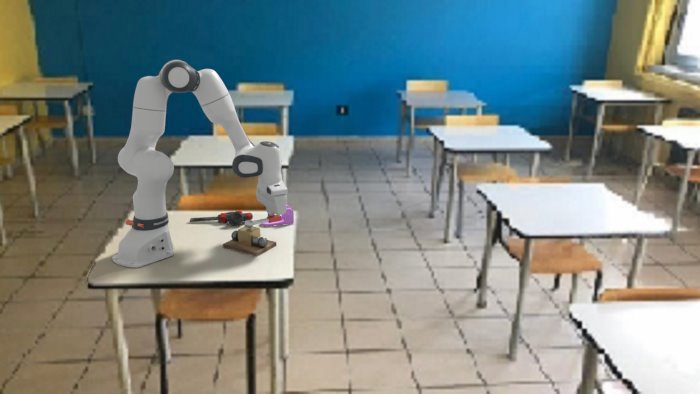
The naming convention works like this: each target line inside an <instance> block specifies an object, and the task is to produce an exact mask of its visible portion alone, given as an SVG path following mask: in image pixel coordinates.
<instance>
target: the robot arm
mask: <svg viewBox="0 0 700 394" xmlns="http://www.w3.org/2000/svg"><path fill="white" fill-rule="evenodd" d="M172 93H177V94H182V93H183V94H184V93H192V94H193V95H194V96H195V97H196V99H197V101H198V103H199V105H200V107H201V109H202V111H203V113H204V115H205V116H206V118H208V120H209V121H210V122H211V123H213V124H215V125H218V126H219V127H221V128H222V129H223V130H224V131H225V132H226V135H227V137H228V138H229V140H230V142H231V143H232V145H233V148H234V153H235V154H234V158H233V160H232V164H231V167H232V168H231V169H232V170H233V172H234V174H235V175H236V176H238V177H239V178H244V179H247V178H255V177H257V178H258V182H257V185H256V196H255V197H256V200H257V202H258V203H260V204H262V205H263V206H264V207H265V209H266V212H267V217H268V216H273V215H280V216H282V214H285V213H286V210H287V205H288V196H287V194H288V188H287V186H286V185H285V183H284V181H283V178H282V177H283V176H282V175H283V174H282V170H281V169H282V166H283V165H282V152H281V148H280V146H279V145H278V144H277V143H275V142H272V141H266V140H265V141H261V142H259V143H257V145H255V144H254V143H253V142H252V141H251V140H250V138H249V136H248V135H247V133H246V131H245V129H244V127H243V126H242V123H241V121H240V119H239V118H238V114H237V112H236V111H237V110H236V106H235V104H234V102H233V99H232V96H231V94H230V93H229V91H228V88H227V87H226V85H225V83H224V81H223V80H222V78H221V77H220V75H219V74H218V73H217V71H215V70H214V69H211V68H204V69H200V70H196V69H195V68H193V66H191V65H189V64H188V63H187V62H186V61H183V60H181V59H172V60H169V61H167V62H166V63H165V64H164V65H163V66H162V68H161V69H160V70H159V72H158V73H157V75H156V76H154V75H153V76H152V75H147V76H143V77H141V78H140V79H138V81H137V84H136V87H135V91H134V96H133V101H132V102H133V103H132V115H131V125H130V126H131V127H130V131H129V134H128V135H129V136H128V138H127V140H126V143H125V145H124V147H122V148H121V149H120V151H119V152H118V155H117V162H118V165H119V167H120V168H122V169H123V170H124V171H125V172H126V173H127V174H129V175H131V176H133V177H134V176H135V177H136V178H137V186H136V190H135V191H134V193H133V195H132V203H133V212H134V215H133V219H126V220H125V225H127V226H130V227H131V228H130V229H129V230H128V232H127V233H126V234H125V236H124V237H123V238H122V239H121V240H120V241H119V243H118V247H117V249H118V250H117V251H118V253H116V254H114V255H112V257H111V260H112V262H113V263H114V264H117V265H119V266H122V267H127V268H137V269H138V268H141V267H144V266H147V265H150V264H152V263H155V262H159V261H161V260H163V259H167V258H171V257H172V256H174V255H175V252H174V251H175V245H174V243H173V240H172V238H171V233H170V230H169V215H168V211H167V203H166V189H167V183H168V181H169V180H170V179H171V177H172V176H173V174H174V171H175V167H174V162H173V160H172V159H171V158H170V157H168V155H166V154H165V153H163V152H162V151H158V150H156V146H157V143H158V141H159V139H160V137H161V136H163V134H164V133H165V127H166V118H167V117H166V115H167V104H168V99H169V96H170V95H171V94H172Z"/></svg>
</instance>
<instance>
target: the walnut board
mask: <svg viewBox="0 0 700 394" xmlns="http://www.w3.org/2000/svg"><path fill="white" fill-rule="evenodd" d="M267 240H268V244H267V246H266V247H264V248H262V247H259V246H258V245H254V246H252V247H250V246H246V245H242V244H239V242H238V241H235V240H233V239H232V238H231V239H230V240H228V241H226V242H224V243H222V249H225V250H229V251H234V252H237V253H240V254H244V255H247V256H252V257H255V258H257V257H259V256H261V255H263V254H265V253H267V252H268V251H270V250H271V249H273V248H275V247H277V241H274V240H269V239H267Z"/></svg>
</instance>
